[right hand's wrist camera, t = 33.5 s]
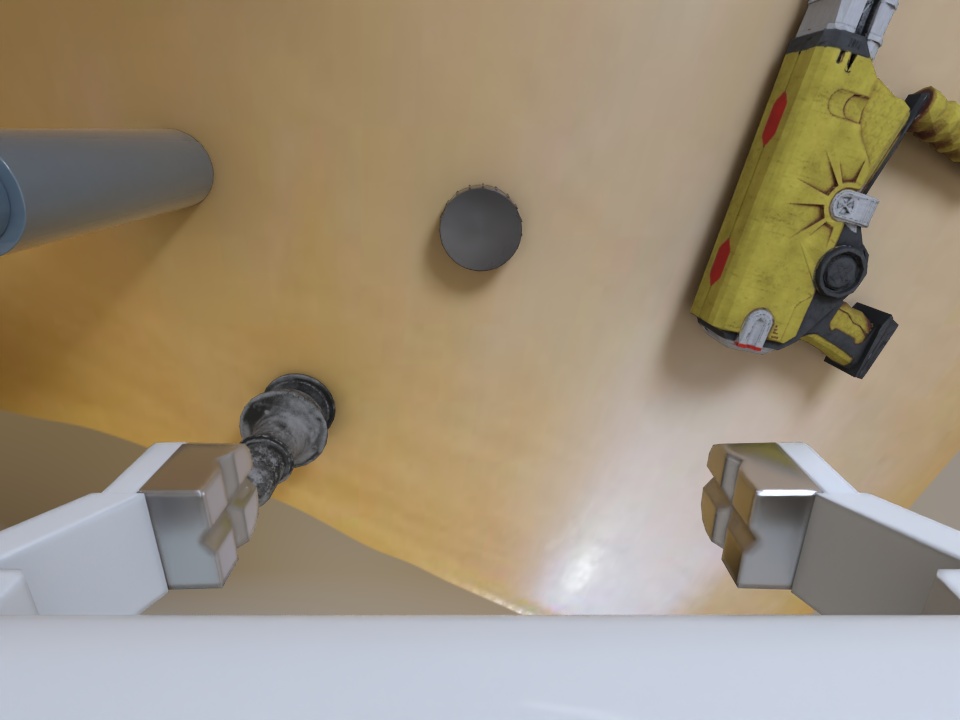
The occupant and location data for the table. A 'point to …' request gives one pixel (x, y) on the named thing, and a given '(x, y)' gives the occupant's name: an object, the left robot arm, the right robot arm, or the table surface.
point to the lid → (480, 228)
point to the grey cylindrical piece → (93, 180)
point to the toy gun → (816, 194)
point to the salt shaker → (285, 429)
